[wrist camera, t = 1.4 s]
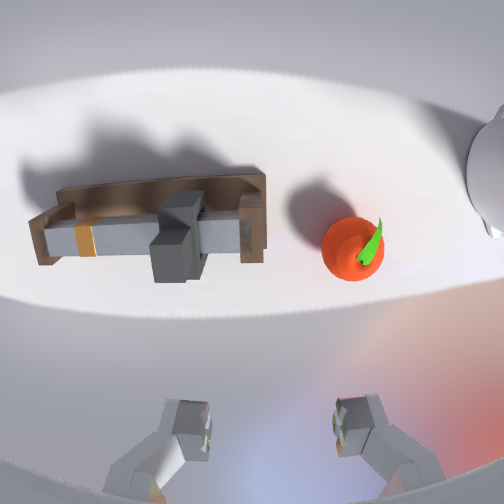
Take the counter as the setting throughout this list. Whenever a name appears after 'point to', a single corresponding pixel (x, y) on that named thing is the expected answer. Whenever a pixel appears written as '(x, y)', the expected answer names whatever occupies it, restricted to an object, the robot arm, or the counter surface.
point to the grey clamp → (178, 239)
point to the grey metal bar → (137, 234)
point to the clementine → (353, 248)
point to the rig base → (152, 196)
